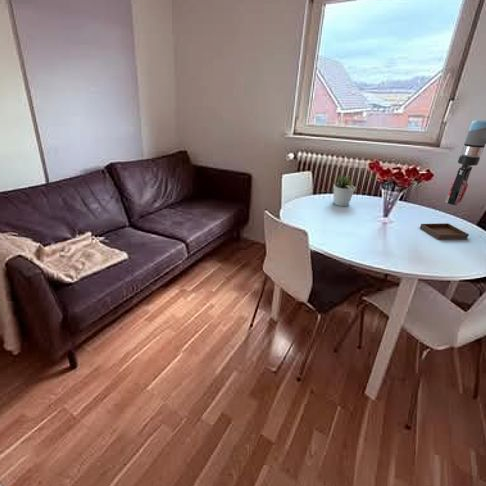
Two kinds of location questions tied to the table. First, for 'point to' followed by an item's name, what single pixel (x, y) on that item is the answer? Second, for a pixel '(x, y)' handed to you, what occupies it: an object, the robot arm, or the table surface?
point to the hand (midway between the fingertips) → (453, 202)
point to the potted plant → (343, 191)
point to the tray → (444, 231)
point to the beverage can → (460, 195)
